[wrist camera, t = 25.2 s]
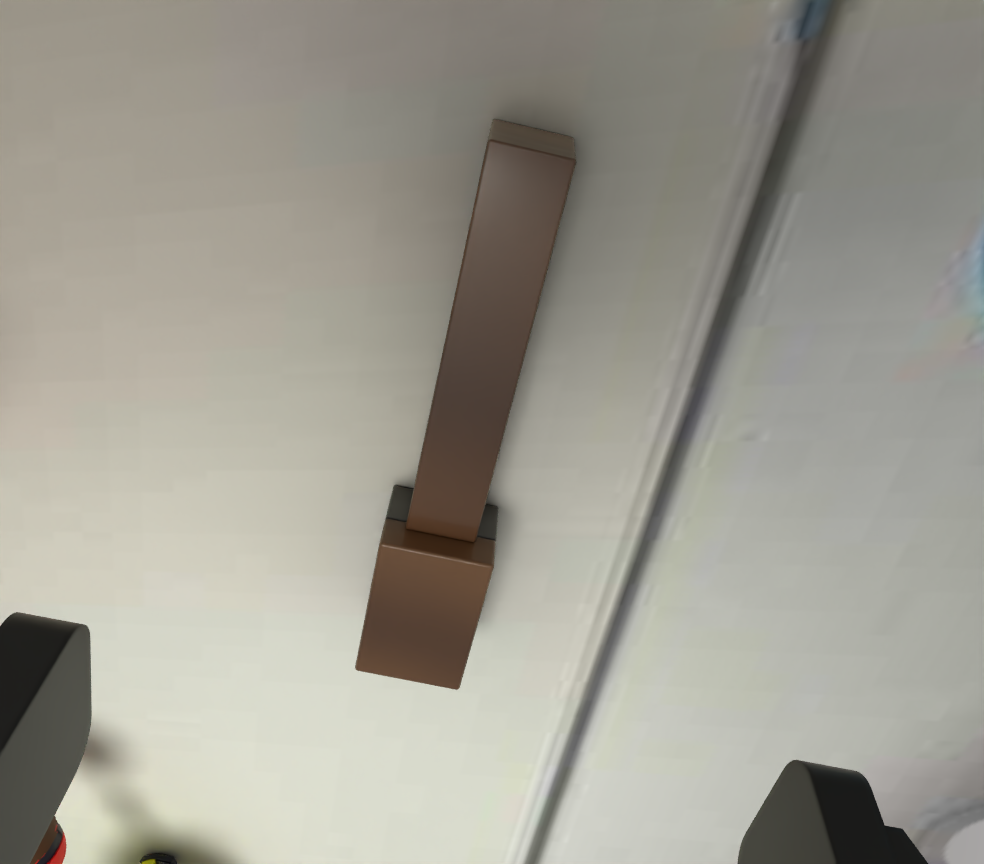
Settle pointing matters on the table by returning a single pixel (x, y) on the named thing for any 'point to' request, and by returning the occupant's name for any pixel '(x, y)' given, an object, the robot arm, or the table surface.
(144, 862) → the toy figure
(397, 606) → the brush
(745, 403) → the table surface
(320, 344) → the table surface
